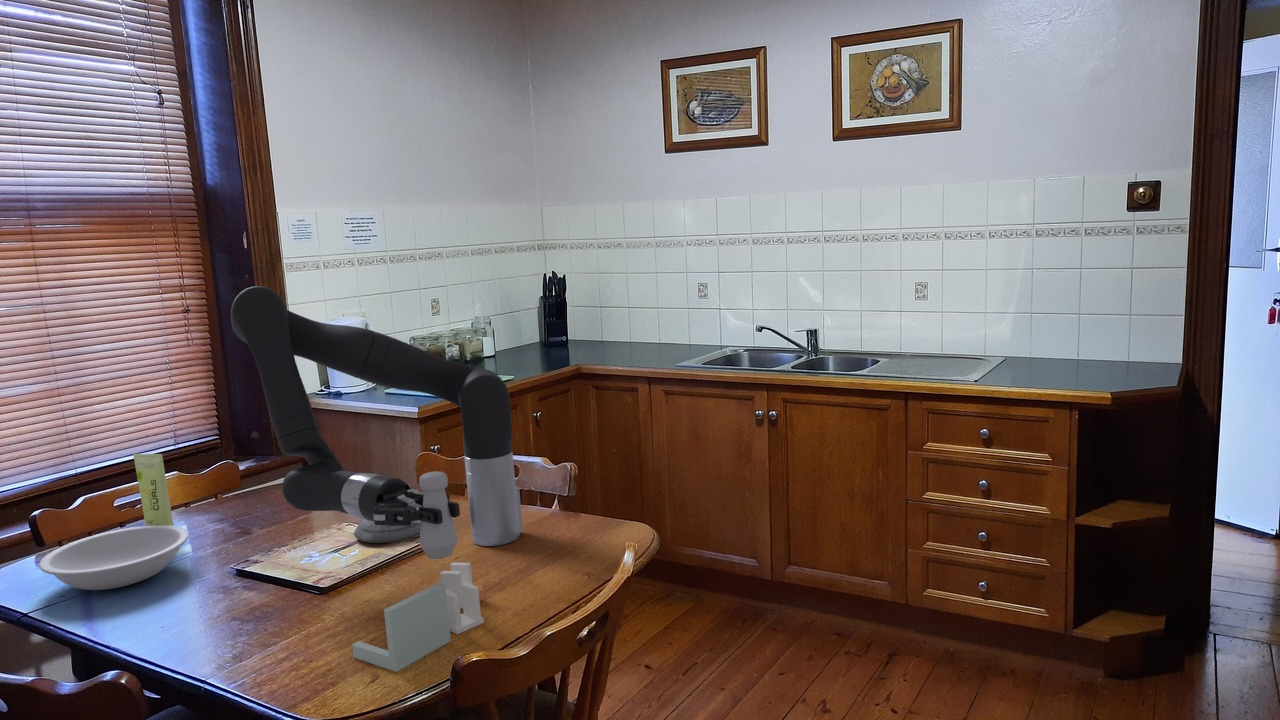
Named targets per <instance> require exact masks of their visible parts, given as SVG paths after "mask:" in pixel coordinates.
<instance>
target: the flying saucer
mask: <svg viewBox="0 0 1280 720" xmlns="http://www.w3.org/2000/svg"><path fill="white" fill-rule="evenodd" d="M420 530H421V523H416V522H411V525H409V526H394V525H375V524H374V522H373V521H369V520H365V519H362V521H361V522H359V524H358V525H357V526H356V528H355V530H354V532H353V536H354V537H355V538H356V539H357V540H360V541H362V542H365V543H371V544H372V543H373V544H383V543H393V542H398V541H403V540H407V539H410V538H413V537H416V536H417V535H420Z"/></svg>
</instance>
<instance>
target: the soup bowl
mask: <svg viewBox="0 0 1280 720" xmlns="http://www.w3.org/2000/svg"><path fill="white" fill-rule="evenodd" d="M189 537H190V532H189V531H188V529H186V528H184V527H181V526H178V525H177V526H176V525H174V526H169V525H151V526H146V525H142V526H133V527H127V528H126V527H125V528H120V529H115V530H111V531H106V532H102V533H98V534H93V535H91V536H87V537H84V538H80V539H78V540H75V541H72V542H70V543H67V544H65V545H62V546H60V547H58V548H56V549H54V550H52V551H50V552H49V553H47V554H46V555H45V556H43V557H42V559H41V560H40V561H39V564H38V568H39V569H40V571H42V572H44V573H45V574H48V575H53V576H54V577H55V578H56V579H58V580H59V581H60V582H62V583H64V584H65V585H67V586H69V587H73V588H76V589H79V590H85V591H88V590H89V591H102V590H103V591H104V590H112V589H118V588H123V587H127V586H129V585H133V584H136V583H139V582H142V581H144V580H146V579H149V578H151V577H153V576H154V575H156V574H158V573H160V572H161V571H162V570H164V569H165V568H166V567H167V566H168V565H169V564H171V562H172V561H173V560H174V558H175V557H176V555H177V554H178V551H179V549H180V547H182V546H183V545H184V544H185V543H187V541H188V539H189Z"/></svg>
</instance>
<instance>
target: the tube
mask: <svg viewBox="0 0 1280 720" xmlns="http://www.w3.org/2000/svg"><path fill="white" fill-rule="evenodd" d="M163 457H164V456H163V454H162V453H152V454H151V453H147V454H146V453H133V460H134V461H133V462H134V466H135V471H136V472H135V473H136V477H137V483H138V484H137V485H138V489H139V494H140V500H141V505H142V506H141V507H142V511H143V517H144V519H143V520H144V526H151V525H169V526H175V525H174V521H173V514H172V508H171V507H172V506H171V503H170V502H171V501H170V497H169V490H168V484H167V483H168V482H167V477H166V472H165V465H164V459H163Z"/></svg>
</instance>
